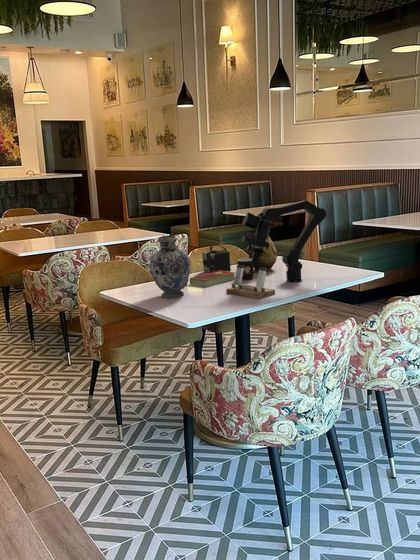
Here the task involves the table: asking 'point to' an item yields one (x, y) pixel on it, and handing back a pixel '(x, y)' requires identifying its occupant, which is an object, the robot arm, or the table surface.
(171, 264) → the decorative vase
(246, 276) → the coffee mug
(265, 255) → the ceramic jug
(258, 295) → the switch box
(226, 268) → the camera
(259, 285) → the lever
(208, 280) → the hardcover book
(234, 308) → the table surface
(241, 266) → the lever
